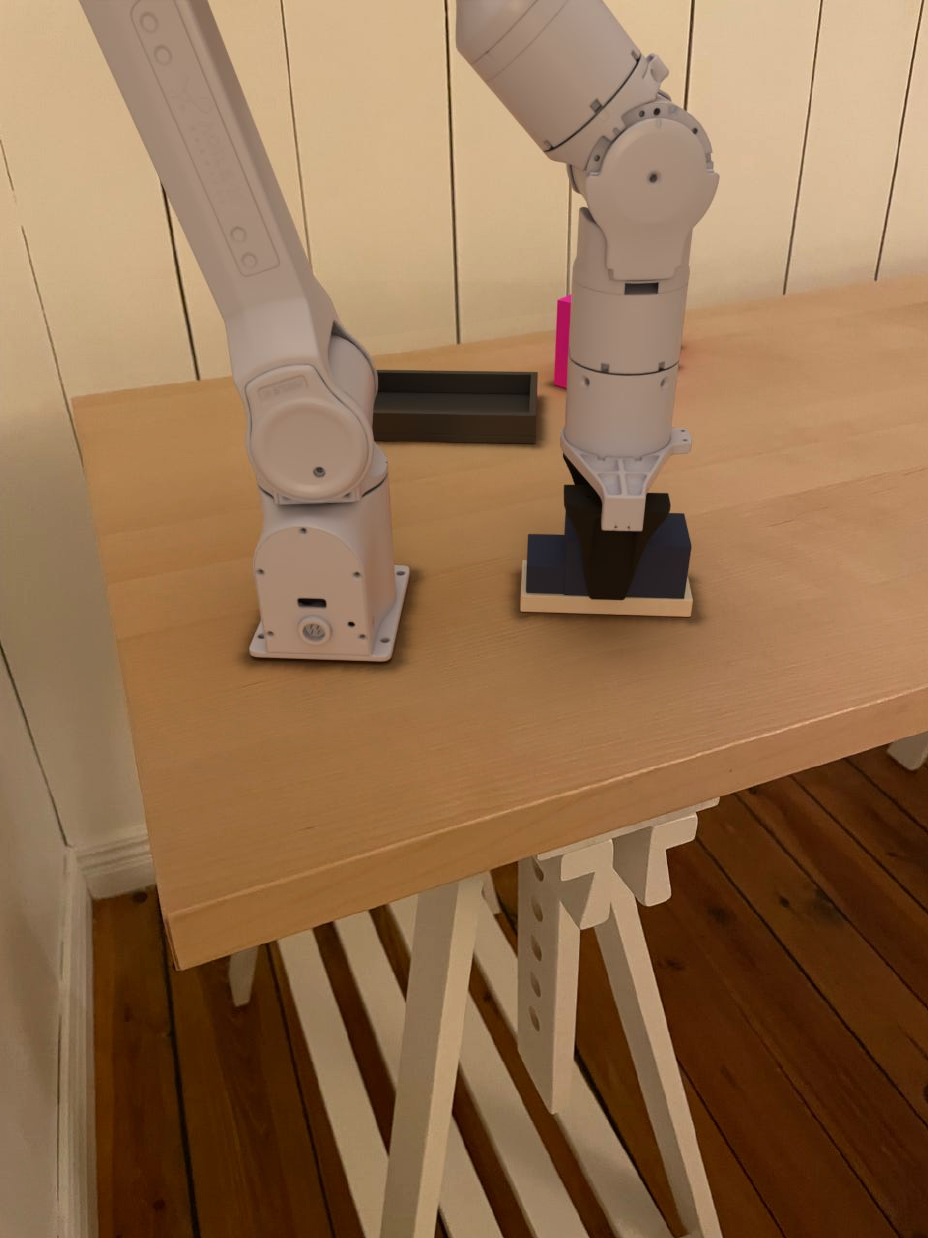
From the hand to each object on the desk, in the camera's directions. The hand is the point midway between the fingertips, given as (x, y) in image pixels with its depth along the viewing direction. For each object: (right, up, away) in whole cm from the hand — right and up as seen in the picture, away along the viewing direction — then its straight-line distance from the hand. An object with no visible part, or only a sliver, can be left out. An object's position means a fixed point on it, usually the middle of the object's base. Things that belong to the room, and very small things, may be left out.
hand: (605, 576), depth 58 cm
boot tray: (-10, +14, +23) cm, 29 cm away
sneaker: (0, -1, +1) cm, 1 cm away
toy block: (+7, +20, +32) cm, 38 cm away
